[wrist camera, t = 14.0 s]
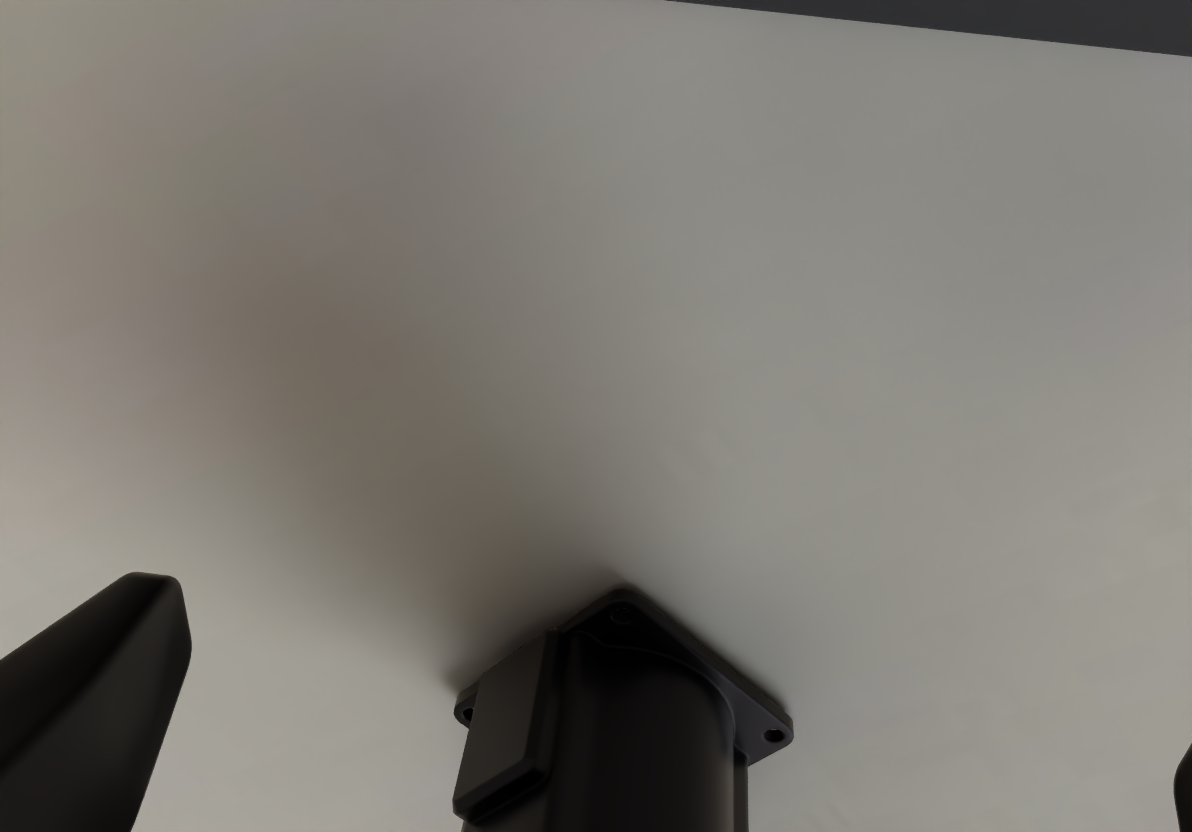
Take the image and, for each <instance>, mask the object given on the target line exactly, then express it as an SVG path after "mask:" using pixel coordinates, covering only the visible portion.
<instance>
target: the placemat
mask: <svg viewBox="0 0 1192 832" xmlns="http://www.w3.org/2000/svg"><path fill="white" fill-rule="evenodd" d="M667 1H676V2H685V3H695V4H704V5H713V6H723V7H732V8H741V9H751V10H760V11H770V12H779V13H788V14H798V15H807V16H816V17H826V18H835V19H844V20H854V21H863V22H872V23H882V24H891V25H900V26H910V27H919V28H928V29H938V30H947V31H956V32H966V33H975V34H984V35H994V36H1003V37H1012V38H1022V39H1031V40H1041V41H1050V42H1059V43H1069V44H1078V45H1087V46H1097V47H1106V48H1115V49H1125V50H1134V51H1143V52H1153V53H1162V54H1171V55H1181V56H1190V57H1192V0H667Z"/></svg>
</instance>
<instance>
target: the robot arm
mask: <svg viewBox="0 0 1192 832" xmlns="http://www.w3.org/2000/svg"><path fill="white" fill-rule="evenodd" d="M618 608H626V609H628V610H630V611H627V612H623V611H619V610H617V609H618ZM191 651H192V641H191V634H190V629H189V624H188V618H187V613H186V608H185V602H184V597H183V592H182V588H181V585H180V583H179V582H178V580H177V579H176V578H174V577H171V576H167V575H159V574H151V573H143V572H132V573H129V574H126V575H124V576H122V577H121V578H119V579H118V580H116V581H115V582H113V583H112V584H110V585H109V586H108V587H106V588H105V589H103V590H102V591H100V592H99V593H97V594H96V595H94V596H93V597H91V598H90V599H89V600H87V601H86V602H84V603H83V604H81V605H80V606H78V607H77V608H75V609H74V610H72V611H71V612H70V613H68V614H67V615H65V616H64V617H62V618H61V619H59V620H58V621H56V622H55V623H53V624H52V625H51V626H49V627H48V628H46V629H45V630H43V631H42V632H40V633H39V634H37V635H36V636H34V637H33V638H32V639H30V640H29V641H27V642H26V643H24V644H23V645H21V646H20V647H18V648H17V649H15V650H14V651H13V652H11V653H10V654H8V655H7V656H5V657H4V658H2V659H1V660H0V832H131V830H132V827H133V825H134V823H135V820H136V817H137V815H138V812H139V809H140V807H141V804H142V801H143V798H144V796H145V793H146V790H147V787H148V784H149V781H150V778H151V775H152V772H153V769H154V766H155V763H156V761H157V758H158V755H159V752H160V749H161V746H162V743H163V740H164V737H165V734H166V731H167V728H168V726H169V723H170V720H171V717H172V714H173V711H174V708H175V705H176V702H177V699H178V696H179V693H180V690H181V688H182V685H183V682H184V679H185V676H186V673H187V670H188V667H189V663H190V658H191ZM472 708H474V709H472ZM454 716H455V718H456V719H457V720H458V721H459V722H460V723H461V724H463V725H464V726H466V727H467V728H468V729H469V732H468V736H467V740H466V744H465V748H464V753H463V757H462V761H461V765H460V770H459V774H458V778H457V782H456V787H455V791H454V795H453V799H452V802H453V813H454V814H455V815H457V816H458V817H460V818H461V819H463V820H464V821H463V826H462V830H461V832H749V829H748V772H747V767H748V766H750V765H752V764H754V763H756V762H758V761H759V760H761V759H763V758H765V757H767V756H769V755H771V754H773V753H774V752H776V751H778V750H780V749H782V748H784V747H786V746H787V745H789V744H790V743H791V742H792V740H793V738H794V731H793V721H792V719H791V717H790V716H789V715H788V714H787V713H785V712H784V711H783V710H782V709H780V708H779V707H778V706H777V705H775V704H774V703H773V702H772V701H770V700H769V699H768V698H767V697H766V696H764V695H763V694H762V693H761V692H759V691H758V690H757V689H756V688H754V687H753V686H752V685H751V684H749V683H748V682H747V681H746V680H744V679H743V678H742V677H741V676H739V675H738V674H737V673H736V672H735V671H733V670H732V669H731V668H730V667H728V666H727V665H726V664H725V663H723V662H722V661H721V660H720V659H718V658H717V657H716V656H715V655H713V654H712V653H711V652H710V651H708V650H707V649H706V648H705V647H703V646H702V645H701V644H700V643H699V642H697V641H696V640H695V639H694V638H692V637H691V636H690V635H689V634H687V633H686V632H685V631H684V630H682V629H681V628H680V627H679V626H677V625H676V624H675V623H674V622H672V621H671V620H670V619H669V618H667V617H666V616H665V615H664V614H663V613H661V612H660V611H659V610H658V609H656V608H655V607H654V606H653V605H651V604H650V603H649V602H648V601H646V600H645V599H644V598H643V597H641V596H640V595H639V594H637V593H636V592H634V591H632V590H628V589H615V590H613V591H611V592H609V593H607V594H606V595H604V596H603V597H601V598H600V599H598V600H597V601H595V602H594V603H592V604H591V605H589V606H588V607H586V608H585V609H584V610H582V611H581V612H579V613H578V614H576V615H575V616H573V617H572V618H570V619H569V620H567V621H566V622H564V623H563V624H561V625H560V626H558V627H557V628H555V629H551V630H547V631H544V632H543V633H541V634H540V635H538V636H537V637H536V638H534V639H533V640H531V641H530V642H528V643H527V644H525V645H524V646H522V647H521V648H519V649H518V650H516V651H515V652H513V653H512V654H511V655H509V656H508V657H506V658H505V659H503V660H502V661H500V662H499V663H497V664H496V665H494V666H493V667H491V668H490V669H489V670H487V671H486V672H484V673H483V675H482V677H481V679H480V680H479V681H477V682H476V683H474V684H473V685H471V686H470V687H469V688H467V689H466V690H464V691H463V692H461V693H460V694H459V695H458V696H457V700H456V704H455V708H454ZM770 729H777V730H770ZM1174 799H1175V805H1176V811H1177V817H1178V823H1179V829H1180V832H1192V744H1191V745H1190V747H1189V749H1188V750H1187V752H1186V754H1185V755H1184V757H1183V759H1182V760H1181V762H1180V764H1179V765H1178V768H1177V770H1176V774H1175V778H1174Z"/></svg>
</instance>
